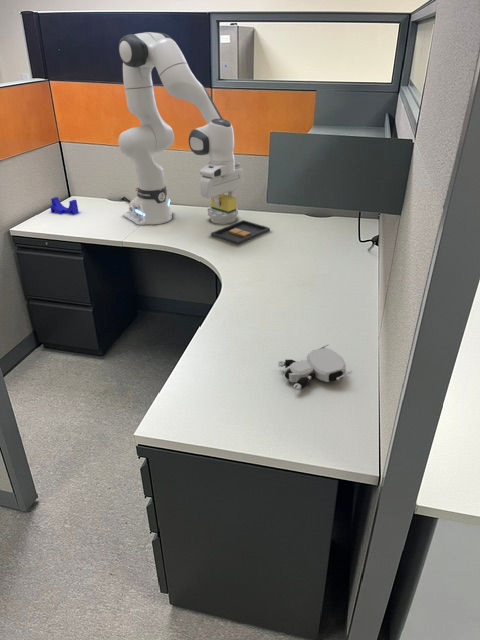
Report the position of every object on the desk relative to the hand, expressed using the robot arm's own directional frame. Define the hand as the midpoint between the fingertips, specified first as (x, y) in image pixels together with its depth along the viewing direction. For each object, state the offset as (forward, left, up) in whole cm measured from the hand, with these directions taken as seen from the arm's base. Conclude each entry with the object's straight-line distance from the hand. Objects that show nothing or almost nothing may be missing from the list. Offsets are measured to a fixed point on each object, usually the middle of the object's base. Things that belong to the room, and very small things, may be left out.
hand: (223, 204), depth 189 cm
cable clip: (-80, -22, -15) cm, 84 cm away
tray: (0, +10, -15) cm, 18 cm away
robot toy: (+76, -49, -15) cm, 92 cm away
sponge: (0, 0, -2) cm, 2 cm away
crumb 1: (-2, +9, -14) cm, 17 cm away
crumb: (+2, +9, -14) cm, 17 cm away
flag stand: (-17, +17, -15) cm, 28 cm away
